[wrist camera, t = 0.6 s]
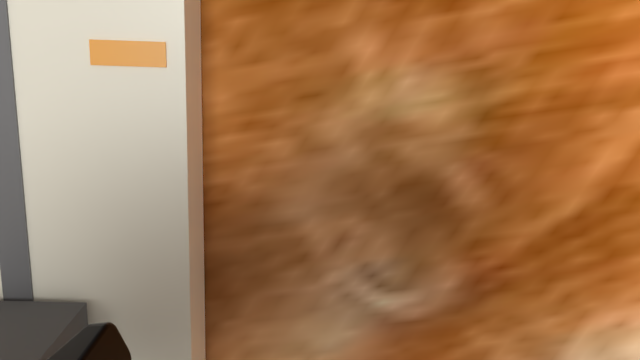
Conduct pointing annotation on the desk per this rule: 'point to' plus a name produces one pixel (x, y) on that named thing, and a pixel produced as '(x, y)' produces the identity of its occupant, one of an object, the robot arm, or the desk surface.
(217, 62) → the desk surface
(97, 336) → the robot arm
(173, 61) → the block
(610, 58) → the desk surface
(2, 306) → the block
